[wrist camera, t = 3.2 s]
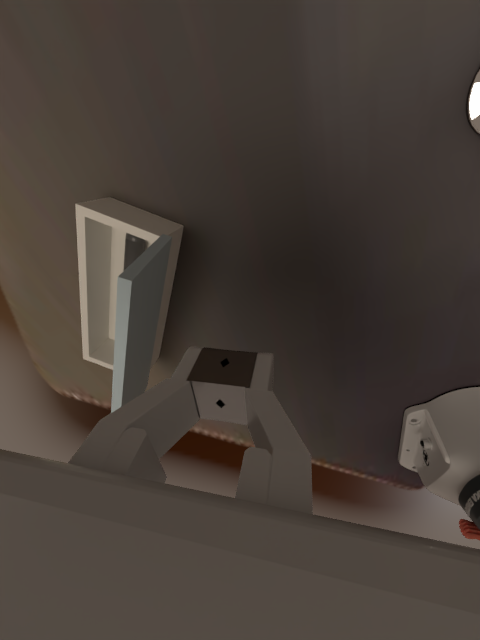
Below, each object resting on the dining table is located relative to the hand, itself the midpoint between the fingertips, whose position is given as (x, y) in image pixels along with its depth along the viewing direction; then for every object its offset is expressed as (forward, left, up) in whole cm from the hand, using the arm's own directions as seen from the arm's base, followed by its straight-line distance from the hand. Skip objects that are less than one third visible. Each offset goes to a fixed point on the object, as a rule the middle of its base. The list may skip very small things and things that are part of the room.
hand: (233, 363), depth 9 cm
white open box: (-10, +21, -25) cm, 34 cm away
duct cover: (-12, +15, -13) cm, 24 cm away
